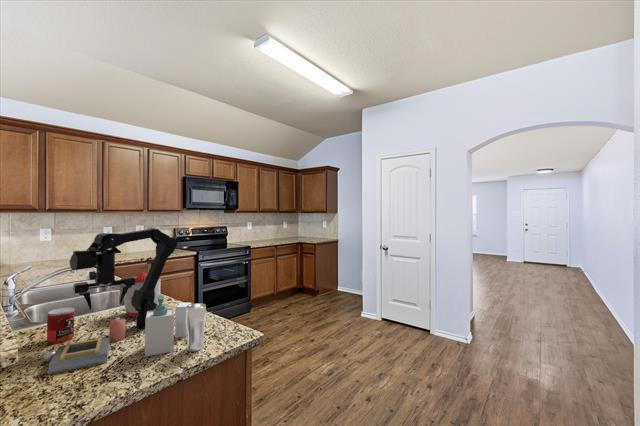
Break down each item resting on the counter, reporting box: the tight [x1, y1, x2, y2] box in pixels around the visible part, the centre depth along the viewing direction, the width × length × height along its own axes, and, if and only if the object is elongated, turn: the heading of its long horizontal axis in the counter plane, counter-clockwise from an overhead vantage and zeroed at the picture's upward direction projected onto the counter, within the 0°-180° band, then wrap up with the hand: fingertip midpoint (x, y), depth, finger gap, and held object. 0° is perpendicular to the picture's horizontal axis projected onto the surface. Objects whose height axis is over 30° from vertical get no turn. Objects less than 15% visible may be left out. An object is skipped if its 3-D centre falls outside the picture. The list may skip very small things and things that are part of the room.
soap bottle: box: [144, 293, 175, 357], centre depth 104 cm, size 9×9×19 cm
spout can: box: [108, 317, 126, 343], centre depth 112 cm, size 5×5×9 cm
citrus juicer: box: [118, 271, 162, 318], centre depth 141 cm, size 16×17×20 cm
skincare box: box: [174, 301, 192, 338], centre depth 117 cm, size 6×4×12 cm
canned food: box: [46, 307, 76, 345], centre depth 110 cm, size 8×8×11 cm
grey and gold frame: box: [42, 336, 111, 375], centre depth 95 cm, size 17×14×4 cm
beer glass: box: [185, 302, 207, 352], centre depth 105 cm, size 7×7×15 cm
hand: (105, 306), depth 112 cm, fingers open, 9 cm apart
